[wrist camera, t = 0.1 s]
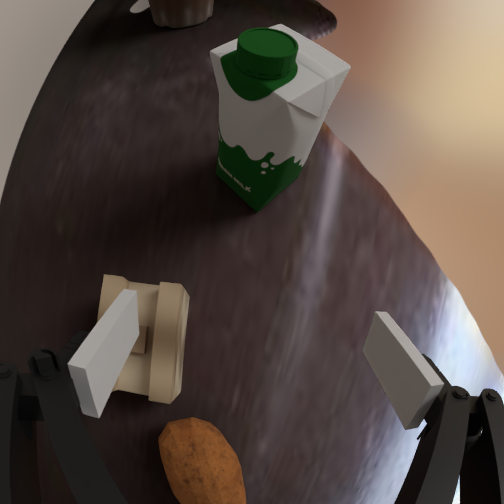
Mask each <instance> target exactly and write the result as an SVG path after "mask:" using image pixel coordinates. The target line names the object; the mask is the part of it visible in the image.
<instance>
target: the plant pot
mask: <svg viewBox="0 0 504 504" xmlns="http://www.w3.org/2000/svg"><path fill="white" fill-rule="evenodd" d="M213 3H214V0H149V4H150V8H151V12H152V16H153V21H154V23H155V24H156V25H158V26H160V27H165V26H168V27H171V28H183V27H189V26H194V25H197V24H200V23H202V22H205V21H206V20H207V19H208V17H211V16H212V12H213Z"/></svg>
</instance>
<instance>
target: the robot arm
mask: <svg viewBox="0 0 504 504" xmlns="http://www.w3.org/2000/svg"><path fill="white" fill-rule="evenodd" d="M138 336H139V322H138V305H137V291H136V290H129V289H123V290H122V292H121V293H120V294H119V295H118V297H117V298H116V299H115V300H114V302H113V303H112V304H111V306H110V307H109V308H108V309H107V311H106V312H105V313H104V315H103V316H102V317H101V319H100V320H99V321H98V323H97V324H96V325H95V327H94V328H93V329H92V331H91V332H89V331H84V330H82V331H80V332H78V333H77V334H75V335H74V336H73V337H72V338H71V339H70V341H69V343H67V345H66V346H65V348H63V350H62V351H61V352H60V354H59V355H58V354H57V352H56V351H55V350H53V349H50V348H39V349H36V350H34V351H33V352H31V353H30V355H29V356H28V364H29V367H30V370H31V373H32V374H28V373H19V372H18V369H17V367H16V366H15V365H14V364H12V363H9V362H3V363H0V504H42V502H41V495H40V486H39V476H38V463H37V435H36V422H37V421H45V424H46V427H47V430H48V433H49V436H50V439H51V442H52V445H53V447H54V450H55V453H56V456H57V458H58V461H59V463H60V466H61V468H62V471H63V473H64V475H65V478H66V480H67V482H68V484H69V487H70V489H71V491H72V493H73V495H74V497H75V499H76V501H77V503H78V504H128V503H127V501H126V500H125V498H124V497H123V495H122V494H121V492H120V490H119V489H118V487H117V486H116V484H115V482H114V481H113V479H112V477H111V476H110V474H109V472H108V470H107V469H106V467H105V465H104V463H103V461H102V459H101V458H100V456H99V454H98V452H97V450H96V448H95V446H94V444H93V442H92V440H91V438H90V436H89V434H88V432H87V430H86V427H85V425H84V423H83V421H82V419H81V416H80V414H79V412H78V407H79V406H80V407H81V409H82V412H83V414H85V415H89V416H92V417H96V418H100V416H101V413H102V411H103V409H104V407H105V404H106V402H107V400H108V398H109V396H110V393H111V391H112V389H113V387H114V385H115V383H116V381H117V379H118V376H119V374H120V372H121V370H122V368H123V366H124V364H125V362H126V360H127V358H128V356H129V354H130V352H131V350H132V348H133V346H134V344H135V342H136V340H137V338H138ZM362 352H363V353H364V355H365V357H366V359H367V360H368V362H369V364H370V366H371V367H372V369H373V371H374V373H375V375H376V376H377V378H378V380H379V382H380V384H381V385H382V387H383V389H384V391H385V393H386V395H387V396H388V398H389V400H390V402H391V404H392V406H393V408H394V410H395V411H396V413H397V415H398V417H399V419H400V421H401V423H402V425H403V427H404V429H405V430H408V429H413V428H418V427H419V425H420V424H421V422H422V421H423V419H425V421H426V423H427V424H426V426H425V427H424V429H423V430H422V432H421V433H420V435H419V436H418V438H417V440H419V438H420V437H421V438H420V441H419V444H418V447H417V450H416V453H415V455H414V458H413V461H412V463H411V466H410V469H409V471H408V474H407V476H406V478H405V481H404V483H403V485H402V488H401V490H400V492H399V494H398V497H397V499H396V501H395V503H394V504H452V502H453V498H454V495H455V491H456V487H457V483H458V478H459V474H460V504H504V404H503V401H502V398H501V396H500V395H499V394H498V393H497V391H495V390H493V389H484V390H483V391H482V392H481V394H480V396H479V397H478V396H470V395H469V393H468V392H467V391H466V390H465V389H464V388H462V387H459V386H451V384H450V383H449V382H448V380H447V379H446V378H445V377H444V375H443V374H442V373H441V371H439V369H438V368H437V366H435V364H434V363H433V361H432V360H431V359H430V358H428V357H427V356H426V355H424V354H421V353H420V352H419V351H418V350H417V348H416V347H415V346H414V345H413V343H412V342H411V341H410V340H409V338H408V337H407V336H406V335H405V333H404V332H403V331H402V330H401V329H400V327H399V326H398V325H397V324H396V323H395V321H394V320H393V319H392V318H391V317H390V315H389V314H388V313H387V312H376V311H375V314H374V317H373V320H372V324H371V327H370V330H369V333H368V336H367V339H366V342H365V344H364V347H363V350H362ZM482 429H483V430H482ZM481 431H482V434H481Z"/></svg>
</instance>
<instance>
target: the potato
mask: <svg viewBox="0 0 504 504" xmlns="http://www.w3.org/2000/svg"><path fill="white" fill-rule="evenodd" d="M158 441H159V448H160V455H161V459H162V462H163V466H164V469H165V472H166V475H167V479H168V482H169V484H170V487H171V489H172V491H173V493H174V495H175V497H176V498H177V499H178V501H179V502H180V503H181V504H246V494H245V487H244V482H243V478H242V470H241V466H240V463H239V460H238V458H237V455H236V453H235V452H234V451H233V449H232V448H231V446H230V445H229V444H228V442H227V441H226V439H225V438H224V436H223V435H222V433H221V432H220V431H219V430H218V429H217V428H216V427H215V426H213V425H212V424H211V423H210V422H207V421H203V420H200V419H197V418H193V417H190V418H185V419H180V420H176V421H171V422H168V423H167V425H166V426H165V428H164V430H163V431H162V433H161V434H160V436H159V439H158Z"/></svg>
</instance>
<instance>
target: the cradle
mask: <svg viewBox="0 0 504 504" xmlns="http://www.w3.org/2000/svg"><path fill="white" fill-rule="evenodd" d="M123 289H129V290H136V291H137V305H138V322H139V336H138V338H137V340H136V342H135V344H134V346H133V348H132V350H131V352H130V354H129V356H128V358H127V360H126V362H125V364H124V366H123V368H122V370H121V372H120V374H119V376H118V379H117V381H116V383H115V385H114V387H113V389H112V391H111V392H113V391H115V390H123V391H127V392H132V393H137V394H143V395H148V396H149V401H155V402H161V403H167V404H170V403H171V402H172V401H173V400H174V399H175V398H176V397H177V396H178V394H179V393H180V392H181V381H182V368H183V356H184V345H185V334H186V324H187V315H188V306H189V297H190V296H189V295H188V293H187V292H186V290H185V289H184V287H183V286H182V284H176V283H167V282H160V286H159V285H151V284H143V283H135V282H129V281H128V280H126V279H125V278H124V277H120V276H113V275H105V274H104V279H103V285H102V291H101V298H100V304H99V312H98V319H97V323H98V321H99V320H100V319H101V317H102V316H103V315H104V313H105V312H106V311H107V309H108V308H109V307H110V306H111V304H112V303H113V302H114V300H115V299H116V298H117V297H118V295H119V294H120V293H121V292H122V290H123Z"/></svg>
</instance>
